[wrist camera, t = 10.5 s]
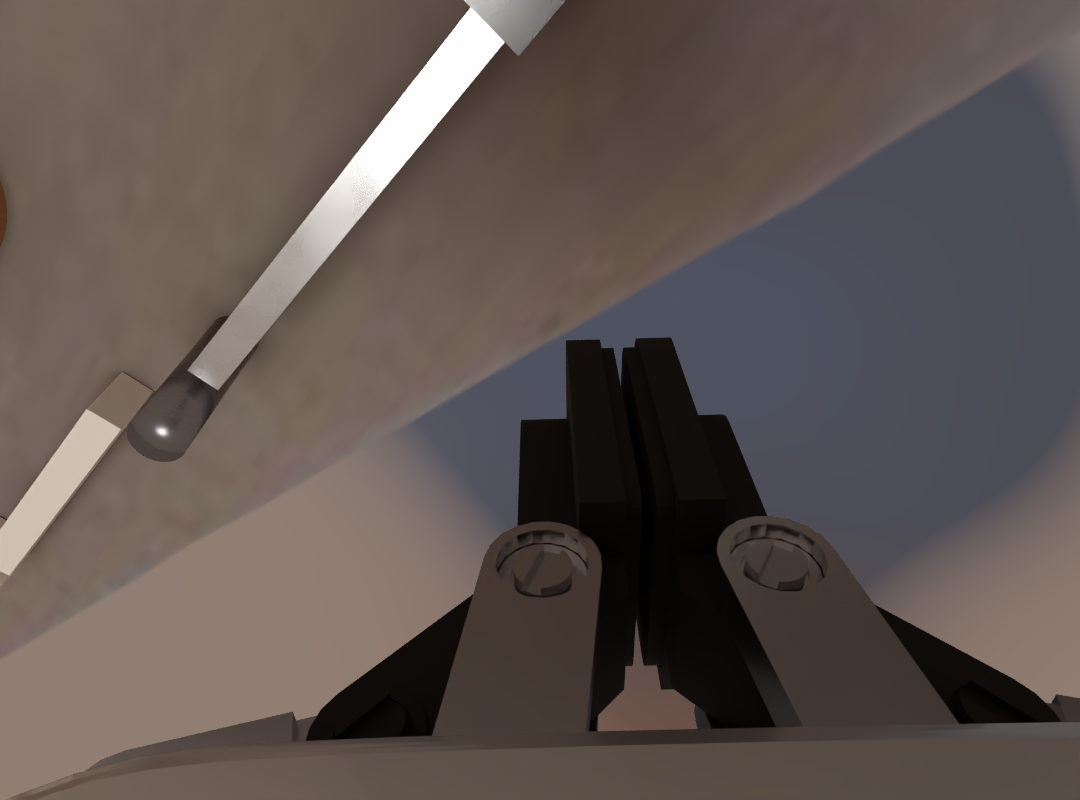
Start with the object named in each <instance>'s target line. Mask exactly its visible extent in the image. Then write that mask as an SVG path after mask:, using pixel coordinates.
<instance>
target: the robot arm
mask: <svg viewBox="0 0 1080 800" xmlns="http://www.w3.org/2000/svg"><path fill="white" fill-rule="evenodd" d="M621 374H622V375H621V385H620V380H619V375H618V370H617V365H616V359H615V354H614V349H613V348H601V343H600V340H567V341H566V397H567V398H566V401H567V419H540V420H521V434H520V468H519V501H518V526H516V527H514V528H512V529H510V530H508V531H506V532H504V533H502V534H501V535H500V536H499V537H498V538H497V539H496V540H495V541H494V542H493V543H492V544H491V545H490V547H489V549H488V551H487V552H486V554H485V557H484V559H483V563H482V566H481V570H480V573H479V576H478V580H477V583H476V587H475V590H474V594H473V595H471V596H470V597H469V598H467V599H466V600H465V601H463V602H462V603H461V604H459V605H458V606H457V607H455V608H454V609H452V610H451V611H450V612H448V613H447V614H446V615H444V616H443V617H442V618H440V619H439V620H438V621H436V622H435V623H433V624H432V625H431V626H429V627H428V628H427V629H425V630H424V631H423V632H421V633H420V634H419V635H417V636H416V637H415V638H413V639H412V640H410V641H409V642H408V643H406V644H405V645H404V646H402V647H401V648H400V649H398V650H397V651H395V652H394V653H393V654H392V655H390V656H389V657H387V658H386V659H385V660H383V661H382V662H381V663H379V664H378V665H376V666H375V667H374V668H372V669H371V670H370V671H368V672H367V673H366V674H364V675H363V676H361V677H360V678H359V679H357V680H356V681H355V682H354V683H352V684H351V685H349V686H348V687H347V688H345V689H344V690H342V691H341V692H340V693H338V694H337V695H336V696H335V697H334V698H333V699H332V700H331V701H330V702H329V703H328V704H326V705H325V706H324V707H323V708H322V709H321V711H320V712H319V714H318V715H317V716H314V717H310V718H305V719H301V720H297V721H296V719H295V716H294V713H293V712H289V713H285V714H281V715H277V716H272V717H268V718H264V719H259V720H255V721H251V722H247V723H242V724H238V725H233V726H229V727H225V728H220V729H217V730H212V731H208V732H203V733H199V734H195V735H190V736H186V737H182V738H177V739H173V740H169V741H164V742H160V743H156V744H152V745H147V746H143V747H138V748H134V749H130V750H125V751H123V752H120V753H118V754H115V755H112V756H110V757H107V758H105V759H102V760H100V761H99V762H97V763H96V764H94V765H93V766H92V767H90V768H89V769H87V770H86V771H84V772H80V773H76V774H73V775H70V776H68V777H65V778H62V779H59V780H57V781H54V782H51V783H48V784H46V785H43V786H40V787H38V788H35V789H32V790H30V791H27V792H24V793H21V794H19V795H16V796H13V797H11V798H9V799H7V800H1080V698H1074V697H1069V696H1062V695H1056V696H1055V697H1054V699H1053V701H1052V703H1051V704H1050V703H1045V702H1044V701H1043V700H1042V699H1041V698H1040V697H1039V696H1038V695H1037V694H1035V693H1034V692H1032V691H1031V690H1030V689H1028V688H1026V687H1025V686H1023V685H1022V684H1020V683H1019V682H1017V681H1016V680H1014V679H1013V678H1011V677H1009V676H1007V675H1005V674H1003V673H1001V672H999V671H998V670H996V669H994V668H992V667H990V666H988V665H986V664H984V663H983V662H981V661H979V660H977V659H975V658H973V657H972V656H970V655H968V654H966V653H964V652H962V651H960V650H958V649H956V648H955V647H953V646H951V645H949V644H947V643H945V642H943V641H941V640H940V639H938V638H936V637H934V636H932V635H930V634H929V633H927V632H925V631H923V630H921V629H919V628H917V627H915V626H914V625H912V624H910V623H908V622H906V621H904V620H902V619H900V618H898V617H897V616H895V615H893V614H891V613H889V612H888V611H885V610H884V609H882V608H880V607H878V606H876V605H874V604H873V602H872V601H871V599H870V598H869V596H868V595H867V594H866V592H865V591H864V589H863V588H862V587H861V585H860V584H859V582H858V581H857V580H856V578H855V577H854V575H853V574H852V573H851V571H850V570H849V568H847V566H846V564H845V563H844V561H843V560H842V559H841V557H840V556H839V554H838V553H837V552H836V550H835V549H834V548H833V547H832V545H831V544H830V543H829V542H828V541H827V540H826V539H825V538H824V537H823V536H822V535H820V534H819V533H817V532H815V531H814V530H812V529H811V528H809V527H808V526H806V525H803V524H800V523H798V522H795V521H792V520H790V519H785V518H779V517H774V516H767V514H766V512H765V509H764V507H763V504H762V502H761V499H760V497H759V495H758V492H757V490H756V487H755V485H754V483H753V480H752V477H751V475H750V472H749V470H748V468H747V465H746V463H745V460H744V458H743V455H742V453H741V450H740V448H739V445H738V443H737V441H736V438H735V436H734V433H733V431H732V428H731V426H730V423H729V421H728V419H727V418H726V416H724V415H698V413H697V411H696V408H695V405H694V402H693V399H692V396H691V393H690V391H689V388H688V385H687V382H686V379H685V376H684V373H683V370H682V368H681V365H680V362H679V359H678V356H677V353H676V350H675V347H674V344H673V342H672V339H671V338H640V339H639V338H637V339H636V341H635V347H633V348H632V347H630V348H623V352H622V373H621ZM636 620H637V626H638V633H639V639H640V646H641V653H642V659H643V663H644V665H645V666H647V665H657V668H658V674H659V680H660V686H661V689H674V690H676V691H677V692H679V693H680V694H681V695H683V696H684V697H685V698H687V699H688V700H689V701H691V702H692V703H694V704H695V707H694V716H695V721H696V726H697V729H683V730H641V731H640V730H639V731H600V732H599V731H598V715H599V714H600V713H601V712H602V711H603V710H604V708H605V707H607V706H608V705H609V704H610V703H611V702H612V700H613V699H614V698H615V697H617V695H619V693H621V692H622V690H624V681H625V666H632V665H633V656H634V640H635V624H636Z"/></svg>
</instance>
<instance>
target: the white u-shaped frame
mask: <svg viewBox="0 0 1080 800" xmlns="http://www.w3.org/2000/svg"><path fill="white" fill-rule="evenodd" d="M152 392H153V391H152V390H151V389H149V388H148V387H146V386H144V385H143V384H141V383H140V382H138V381H136V380H135V379H133V378H132V377H130V376H128V375H127V374H125V373H123V372H122V373H121V374H120V375H119V376H118V377H117V378H116V379H115V380H114V381H113V382H112V383H111V384H110V385H109V386H108V387H107V388H106V389H105V390H104V391H103V392H102V394H101V395H100V396H99V397H98V398H97V399H96V400H95V401H94V402H93V403H92V404H91V405H90V406H89V407H88V408H87V409H86V411H85V412H84V413H83V415H82V416H81V418H80V419H79V420H78V422H77V423H76V425H75V426H74V427H73V429H72V430H71V432H70V433H69V434H68V436H67V437H66V439H65V440H64V441H63V443H62V444H61V445H60V447H59V448H58V450H57V451H56V452H55V454H54V455H53V457H52V458H51V459H50V461H49V462H48V464H47V465H46V466H45V468H44V469H43V471H42V472H41V473H40V475H39V476H38V478H37V479H36V480H35V482H34V483H33V485H32V486H31V487H30V489H29V490H28V492H27V493H26V494H25V496H24V497H23V498H22V500H21V501H20V503H19V504H18V505H17V507H16V508H15V510H14V511H13V512H12V514H11V515H10V517H9V518H8V519H7V520H5V519H3V518H1V517H0V588H1V587H2V586H3V585H4V583H5V582H6V581H7V580H8V578H9V577H10V576H11V575H12V574H13V572H14V571H15V570H16V569H17V568H18V566H19V565H20V564H21V563H22V562H23V560H24V559H25V558H26V557H27V556H28V554H29V553H30V552H31V551H32V549H33V548H34V547H35V545H36V544H37V543H38V541H39V540H40V539H41V537H42V536H43V535H44V533H45V532H46V531H47V530H48V528H49V527H50V526H51V524H52V523H53V522H54V520H55V519H56V518H57V517H58V515H59V514H60V513H61V511H62V510H63V509H64V507H65V506H66V505H67V503H68V502H69V501H70V500H71V498H72V497H73V496H74V494H75V493H76V492H77V490H78V489H79V488H80V487H81V485H82V484H83V483H84V481H85V480H86V479H87V477H88V476H89V475H90V473H91V472H92V471H93V470H94V468H95V467H96V466H97V464H98V463H99V462H100V460H101V459H102V458H103V456H104V455H105V454H106V453H107V451H108V450H109V449H110V447H111V446H112V445H113V443H114V442H115V441H116V439H117V438H118V437H119V436H120V434H121V433H122V432H123V430H124V429H125V428H126V426H127V425H128V424H129V423H130V421H131V420H132V419H133V417H134V416H135V415H136V413H137V412H138V411H139V409H140V408H141V407H142V406H143V404H144V403H145V402H146V400H147V399H148V398H149V396H150V395H151V394H152Z"/></svg>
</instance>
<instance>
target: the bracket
mask: <svg viewBox="0 0 1080 800" xmlns="http://www.w3.org/2000/svg"><path fill="white" fill-rule="evenodd" d="M6 223H7V209H6V201H5V196H4V192H3V188H2V185H1V182H0V245H1V243H2V240H3V237H4V234H5V230H6Z"/></svg>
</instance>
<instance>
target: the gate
mask: <svg viewBox="0 0 1080 800" xmlns="http://www.w3.org/2000/svg"><path fill="white" fill-rule="evenodd" d="M464 1H465V2H466V3H467V4H468V5H469V6H470V7H471V8H470V9H469V11H468V12H467V13H466V14H465V16H464V17H463V18H462V20H461V21H460V22H459V23H458V25H457V26H456V27H455V28H454V30H453V31H452V32H451V34H450V35H449V36H448V37H447V39H446V40H445V41H444V43H443V44H442V45H441V46H440V48H439V49H438V50H437V52H436V53H435V54H434V55H433V57H432V58H431V59H430V60H429V62H428V63H427V64H426V66H425V67H424V68H423V69H422V71H421V72H420V73H419V75H418V76H417V77H416V78H415V80H414V81H413V82H412V84H411V85H410V86H409V87H408V89H407V90H406V91H405V92H404V94H403V95H402V96H401V98H400V99H399V100H398V101H397V103H396V104H395V105H394V107H393V108H392V109H391V110H390V112H389V113H388V114H387V116H386V117H385V118H384V119H383V121H382V122H381V123H380V124H379V126H378V127H377V128H376V130H375V131H374V132H373V133H372V135H371V136H370V137H369V139H368V140H367V141H366V142H365V144H364V145H363V146H362V147H361V149H360V150H359V151H358V153H357V154H356V155H355V156H354V158H353V159H352V160H351V162H350V163H349V164H348V165H347V167H346V168H345V169H344V171H343V172H342V173H341V174H340V176H339V177H338V178H337V179H336V181H335V182H334V183H333V185H332V186H331V187H330V188H329V190H328V191H327V192H326V194H325V195H324V196H323V197H322V199H321V200H320V201H319V203H318V204H317V205H316V206H315V208H314V209H313V210H312V211H311V213H310V214H309V215H308V217H307V218H306V219H305V220H304V222H303V223H302V224H301V226H300V227H299V228H298V229H297V231H296V232H295V233H294V235H293V236H292V237H291V238H290V240H289V241H288V242H287V243H286V245H285V246H284V247H283V249H282V250H281V251H280V252H279V254H278V255H277V256H276V258H275V259H274V260H273V261H272V263H271V264H270V265H269V266H268V268H267V269H266V270H265V272H264V273H263V274H262V275H261V277H260V278H259V279H258V281H257V282H256V283H255V284H254V286H253V287H252V288H251V290H250V291H249V292H248V293H247V295H246V296H245V297H244V298H243V300H242V301H241V302H240V304H239V305H238V306H237V307H236V309H235V310H234V311H233V313H232V314H231V315H230V316H229V318H228V319H227V320H226V322H225V323H224V324H223V325H222V327H221V328H220V329H219V330H218V332H217V333H216V334H215V336H214V337H213V338H212V339H211V341H210V342H209V343H208V345H207V346H206V347H205V348H204V350H203V351H202V352H201V354H200V355H199V356H198V357H197V359H196V360H195V361H194V362H193V364H192V365H191V366H190V368H189V369H188V370H187V371H189V372H191V373H192V374H194V375H195V376H197V377H198V378H200V379H201V380H203V381H204V382H206V383H208V384H209V385H211V386H212V387H214V388H215V389H217V390H219V389H220V387H221V386H222V385H223V384H224V382H225V381H226V380H227V379H228V378H229V376H230V375H231V374H232V373H233V372H234V370H235V369H236V368H237V367H238V365H239V364H240V363H241V362H242V361H243V359H244V358H245V357H246V356H247V355H248V353H249V352H250V351H251V350H252V348H253V347H254V346H255V345H256V344H257V342H258V341H259V340H260V339H261V338H262V336H263V335H264V334H265V333H266V331H267V330H268V329H269V328H270V327H271V325H272V324H273V323H274V322H275V321H276V319H277V318H278V317H279V316H280V314H281V313H282V312H283V311H284V310H285V308H286V307H287V306H288V305H289V304H290V302H291V301H292V300H293V299H294V297H295V296H296V295H297V294H298V293H299V291H300V290H301V289H302V288H303V287H304V285H305V284H306V283H307V282H308V280H309V279H310V278H311V277H312V276H313V274H314V273H315V272H316V271H317V269H318V268H319V267H320V266H321V265H322V263H323V262H324V261H325V260H326V259H327V257H328V256H329V255H330V254H331V252H332V251H333V250H334V249H335V248H336V246H337V245H338V244H339V243H340V242H341V240H342V239H343V238H344V237H345V235H346V234H347V233H348V232H349V231H350V229H351V228H352V227H353V226H354V225H355V223H356V222H357V221H358V220H359V218H360V217H361V216H362V215H363V214H364V212H365V211H366V210H367V209H368V208H369V206H370V205H371V204H372V203H373V201H374V200H375V199H376V198H377V197H378V195H379V194H380V193H381V192H382V191H383V189H384V188H385V187H386V186H387V184H388V183H389V182H390V181H391V180H392V178H393V177H394V176H395V175H396V174H397V172H398V171H399V170H400V169H401V167H402V166H403V165H404V164H405V163H406V161H407V160H408V159H409V158H410V157H411V155H412V154H413V153H414V152H415V150H416V149H417V148H418V147H419V146H420V144H421V143H422V142H423V141H424V140H425V138H426V137H427V136H428V135H429V133H430V132H431V131H432V130H433V129H434V127H435V126H436V125H437V124H438V123H439V121H440V120H441V119H442V118H443V116H444V115H445V114H446V113H447V112H448V110H449V109H450V108H451V107H452V106H453V104H454V103H455V102H456V101H457V99H458V98H459V97H460V96H461V95H462V93H463V92H464V91H465V90H466V88H467V87H468V86H469V85H470V84H471V82H472V81H473V80H474V79H475V78H476V76H477V75H478V74H479V73H480V71H481V70H482V69H483V68H484V67H485V65H486V64H487V63H488V62H489V61H490V59H491V58H492V57H493V56H494V54H495V53H496V52H497V51H498V50H499V48H500V47H501V46H502V45H503V44H504V42H505V43H506V44H507V45H508V46H509V47H510V48H511V49H512V50H513V51H514V52H515V53H516V54H517V55H518V56H519V55H520V54H521V53H522V52H523V50H524V49H525V48H526V47H527V46H528V44H529V43H530V42H531V41H532V40H533V39H534V37H535V36H536V35H537V34H538V33H539V31H540V30H541V29H542V28H543V27H544V25H545V24H546V23H547V22H548V21H549V20H550V18H551V17H552V16H553V15H554V14H555V12H556V11H557V10H558V9H559V8H560V6H561V5H562V4H563V3H564V2H565V0H464Z"/></svg>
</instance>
